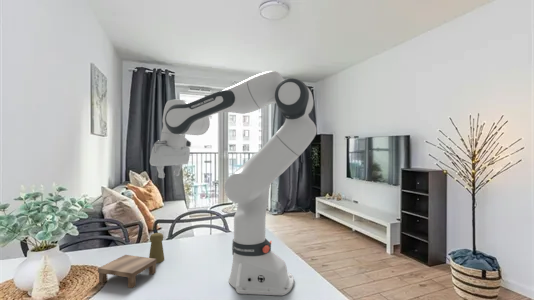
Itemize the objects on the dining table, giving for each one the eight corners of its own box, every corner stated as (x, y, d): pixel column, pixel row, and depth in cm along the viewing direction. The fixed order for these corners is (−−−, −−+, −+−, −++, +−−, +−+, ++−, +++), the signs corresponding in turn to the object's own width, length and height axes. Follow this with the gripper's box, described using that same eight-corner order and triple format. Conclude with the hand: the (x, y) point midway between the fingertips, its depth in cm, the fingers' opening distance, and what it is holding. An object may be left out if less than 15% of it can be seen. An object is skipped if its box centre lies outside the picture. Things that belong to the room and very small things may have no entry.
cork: (158, 264, 106) (158, 236, 105) (145, 262, 107) (145, 235, 107) (167, 258, 111) (167, 231, 111) (154, 256, 113) (154, 230, 113)
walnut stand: (156, 272, 99) (156, 258, 99) (132, 288, 87) (132, 273, 87) (125, 267, 102) (125, 254, 102) (97, 282, 91) (98, 268, 91)
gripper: (162, 141, 92) (158, 180, 93) (193, 143, 112) (190, 175, 113) (147, 139, 94) (143, 178, 94) (180, 141, 114) (177, 173, 114)
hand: (169, 176), depth 104 cm, fingers open, 8 cm apart
